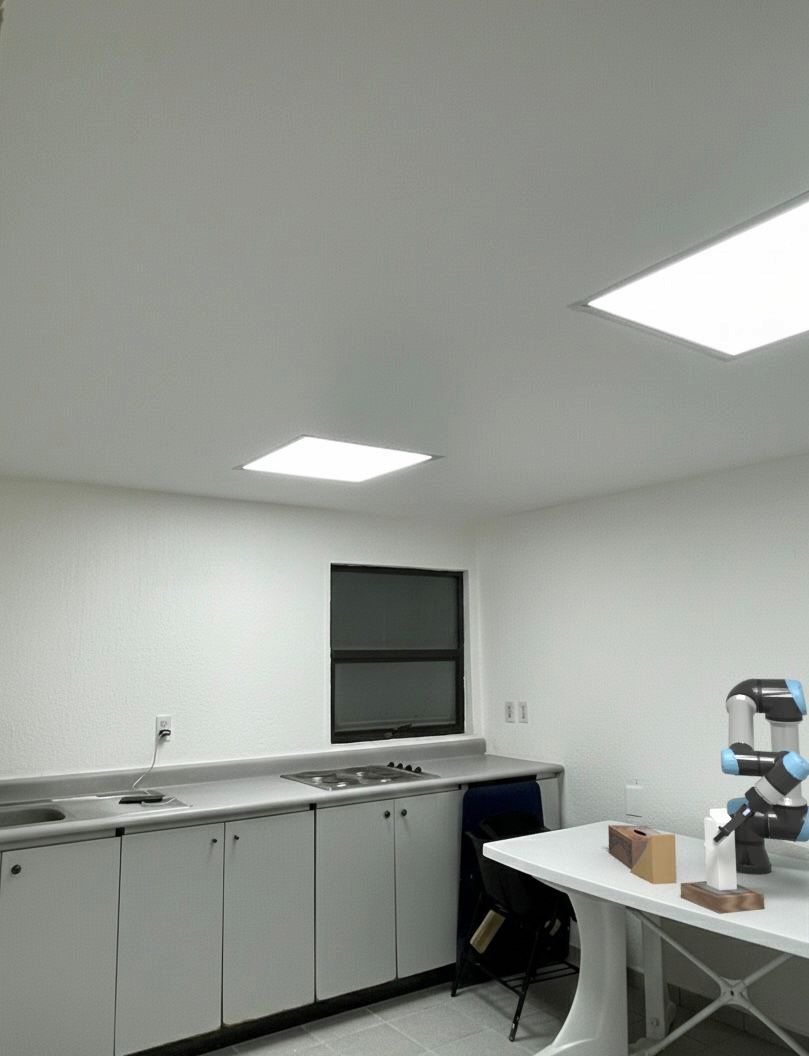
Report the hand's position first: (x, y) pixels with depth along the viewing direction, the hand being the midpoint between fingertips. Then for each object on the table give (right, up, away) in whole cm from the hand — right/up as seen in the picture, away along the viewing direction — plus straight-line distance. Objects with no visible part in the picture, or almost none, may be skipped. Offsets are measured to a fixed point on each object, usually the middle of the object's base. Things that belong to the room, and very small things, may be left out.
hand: (711, 843), depth 237 cm
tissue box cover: (-8, -24, +44) cm, 51 cm away
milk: (+2, -12, -3) cm, 12 cm away
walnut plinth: (+2, -16, -4) cm, 16 cm away
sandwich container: (-10, -21, +23) cm, 33 cm away
